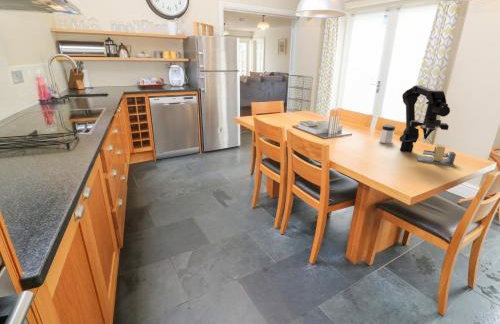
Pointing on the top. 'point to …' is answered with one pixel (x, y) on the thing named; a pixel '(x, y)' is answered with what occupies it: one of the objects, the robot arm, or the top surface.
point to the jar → (387, 133)
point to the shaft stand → (427, 159)
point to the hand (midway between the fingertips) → (425, 139)
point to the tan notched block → (438, 152)
